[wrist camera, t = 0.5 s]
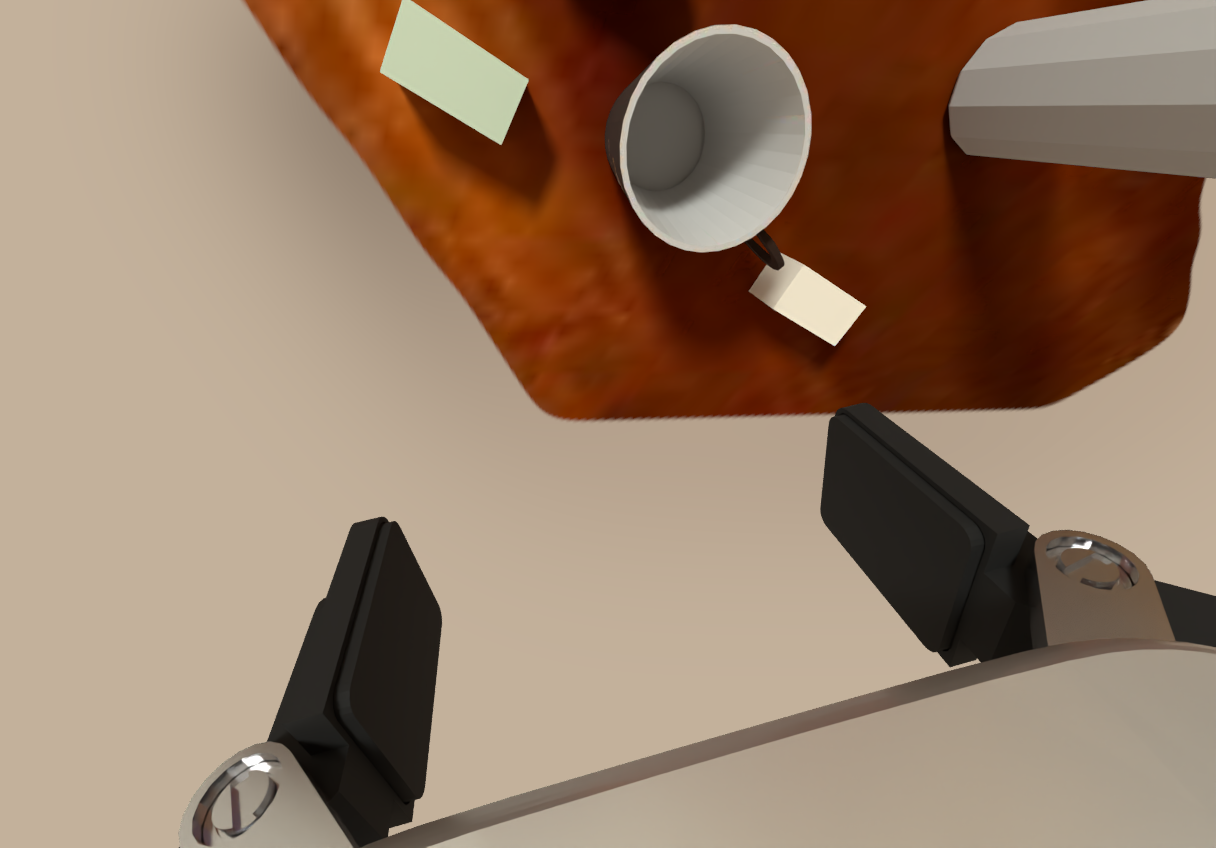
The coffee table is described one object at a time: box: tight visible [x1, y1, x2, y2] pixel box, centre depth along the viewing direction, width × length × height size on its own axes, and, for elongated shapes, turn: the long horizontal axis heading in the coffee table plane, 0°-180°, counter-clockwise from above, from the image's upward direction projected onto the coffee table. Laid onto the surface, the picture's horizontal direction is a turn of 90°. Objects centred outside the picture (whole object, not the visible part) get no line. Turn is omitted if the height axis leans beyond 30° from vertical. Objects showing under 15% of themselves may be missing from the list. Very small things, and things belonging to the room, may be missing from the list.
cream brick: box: [749, 253, 866, 346], centre depth 36 cm, size 6×3×4 cm, turn 60°
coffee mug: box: [605, 24, 811, 270], centre depth 27 cm, size 12×9×10 cm
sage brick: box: [380, 0, 529, 145], centre depth 26 cm, size 6×3×4 cm, turn 60°
